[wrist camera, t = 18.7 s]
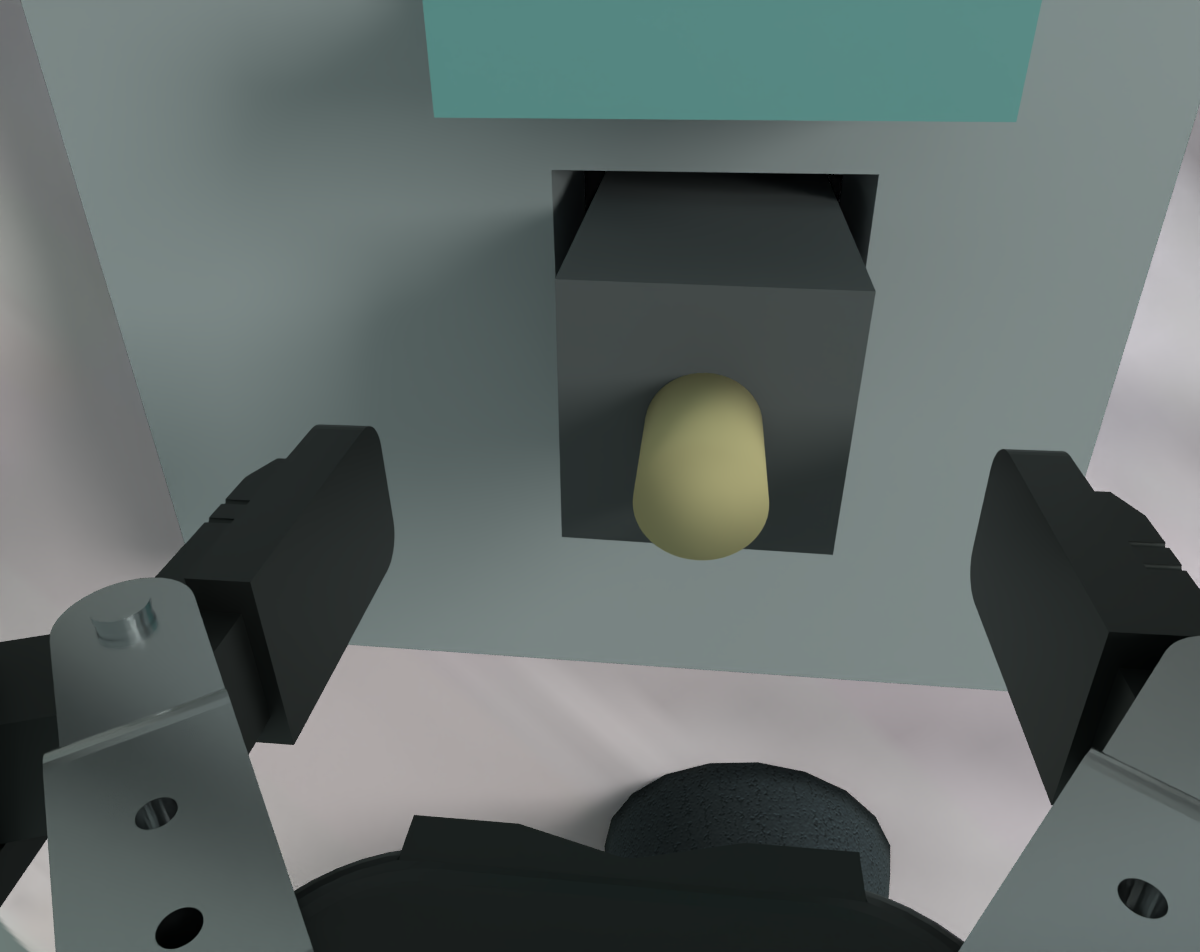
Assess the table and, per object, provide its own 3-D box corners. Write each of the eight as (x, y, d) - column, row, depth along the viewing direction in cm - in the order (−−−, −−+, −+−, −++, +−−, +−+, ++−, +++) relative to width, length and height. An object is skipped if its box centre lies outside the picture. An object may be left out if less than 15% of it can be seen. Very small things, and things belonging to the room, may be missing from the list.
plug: (795, 342, 20) (849, 647, 12) (615, 334, 20) (539, 623, 12) (817, 154, 18) (903, 357, 9) (616, 149, 18) (526, 339, 10)
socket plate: (974, 577, 23) (1018, 692, 19) (283, 536, 25) (212, 635, 21) (1176, -231, 14) (1317, -279, 11) (111, -198, 16) (-50, -232, 13)
